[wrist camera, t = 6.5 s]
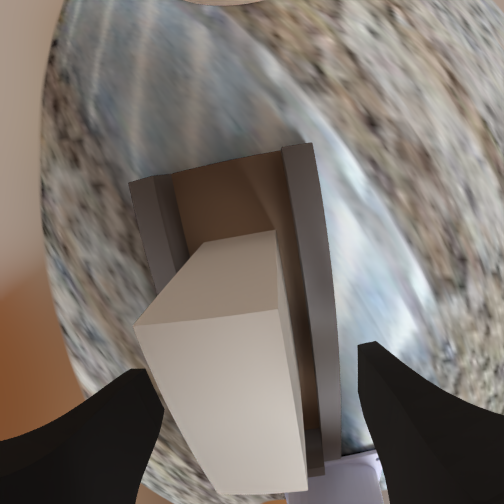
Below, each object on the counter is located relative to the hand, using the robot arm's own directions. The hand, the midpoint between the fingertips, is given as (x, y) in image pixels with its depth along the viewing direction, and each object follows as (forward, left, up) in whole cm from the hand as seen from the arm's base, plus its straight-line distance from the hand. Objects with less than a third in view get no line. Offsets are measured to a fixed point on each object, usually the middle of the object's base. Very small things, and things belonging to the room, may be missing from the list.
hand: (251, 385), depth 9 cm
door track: (-1, 0, -5) cm, 5 cm away
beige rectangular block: (+1, 0, -4) cm, 4 cm away
